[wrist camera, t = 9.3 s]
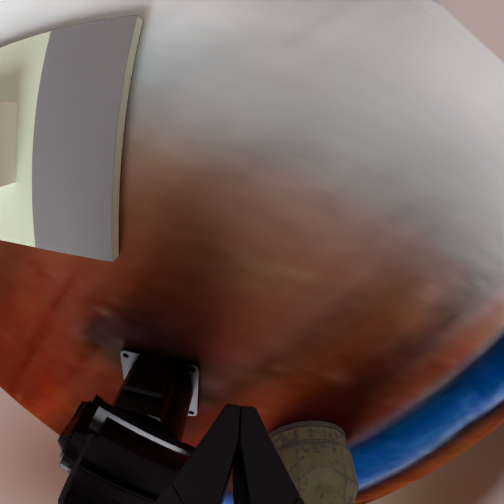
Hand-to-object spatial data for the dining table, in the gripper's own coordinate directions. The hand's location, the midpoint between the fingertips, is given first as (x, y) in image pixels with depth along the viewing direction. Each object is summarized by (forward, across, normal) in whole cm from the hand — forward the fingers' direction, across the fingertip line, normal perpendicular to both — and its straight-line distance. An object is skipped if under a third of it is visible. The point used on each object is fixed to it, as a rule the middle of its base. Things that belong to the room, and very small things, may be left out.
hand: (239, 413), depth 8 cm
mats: (+12, +21, -7) cm, 25 cm away
